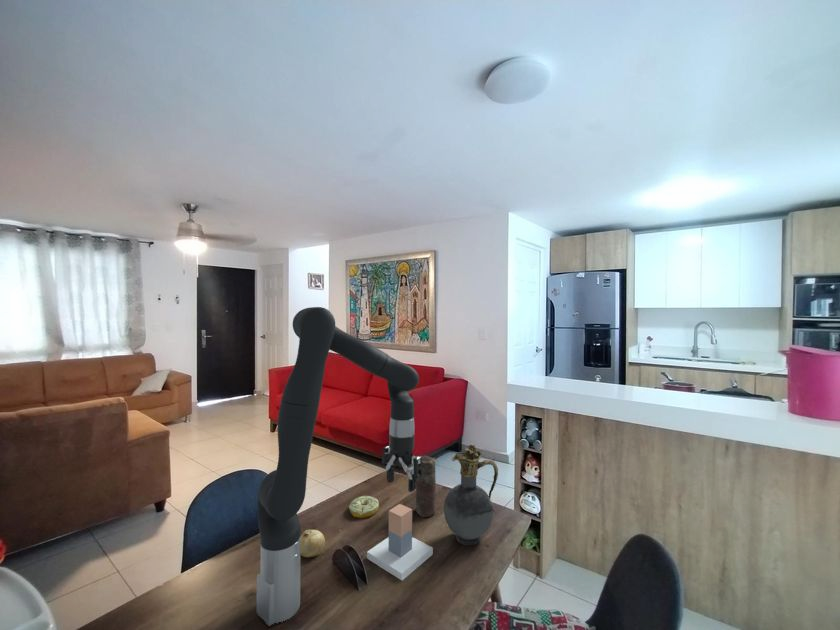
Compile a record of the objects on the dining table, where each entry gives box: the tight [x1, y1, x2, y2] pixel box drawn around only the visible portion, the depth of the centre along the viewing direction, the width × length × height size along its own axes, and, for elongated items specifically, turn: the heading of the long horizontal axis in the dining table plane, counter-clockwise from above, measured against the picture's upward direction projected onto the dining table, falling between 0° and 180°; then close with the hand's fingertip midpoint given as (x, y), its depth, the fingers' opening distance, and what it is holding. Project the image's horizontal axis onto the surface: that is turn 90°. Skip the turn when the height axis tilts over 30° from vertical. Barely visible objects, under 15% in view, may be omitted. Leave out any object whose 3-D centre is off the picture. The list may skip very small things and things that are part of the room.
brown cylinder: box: [415, 455, 437, 518], centre depth 133 cm, size 8×7×20 cm
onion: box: [300, 528, 326, 558], centre depth 110 cm, size 8×8×7 cm
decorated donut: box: [348, 495, 380, 519], centre depth 133 cm, size 10×11×4 cm
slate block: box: [388, 529, 413, 558], centre depth 109 cm, size 5×5×6 cm
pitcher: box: [443, 444, 499, 546], centre depth 118 cm, size 11×19×30 cm, turn 113°
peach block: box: [388, 503, 413, 537], centre depth 109 cm, size 5×5×6 cm
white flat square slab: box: [366, 536, 434, 581], centre depth 109 cm, size 14×14×2 cm
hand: (400, 486), depth 108 cm, fingers open, 8 cm apart
